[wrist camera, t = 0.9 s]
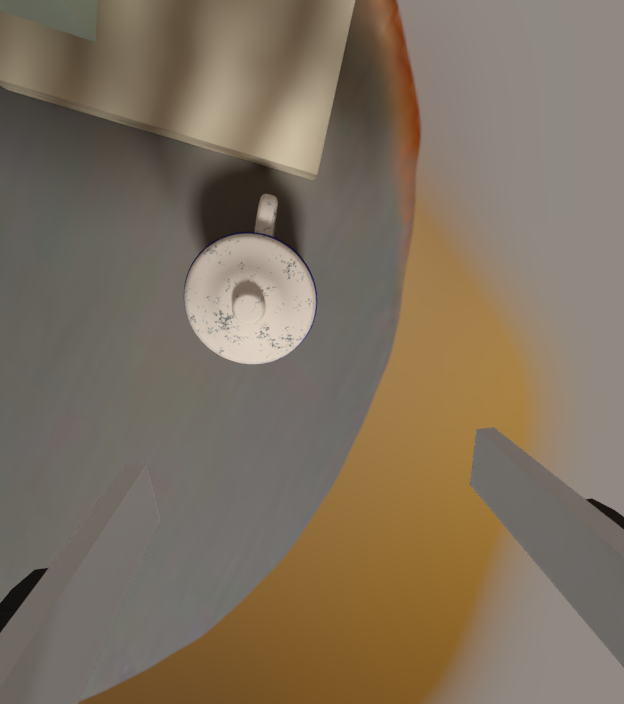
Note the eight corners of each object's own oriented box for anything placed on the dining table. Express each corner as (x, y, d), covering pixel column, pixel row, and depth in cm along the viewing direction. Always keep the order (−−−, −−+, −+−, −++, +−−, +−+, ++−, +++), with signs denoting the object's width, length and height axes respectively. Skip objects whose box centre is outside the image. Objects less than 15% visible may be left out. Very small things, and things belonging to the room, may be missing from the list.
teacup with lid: (297, 343, 32) (308, 389, 20) (204, 328, 30) (162, 368, 19) (321, 218, 28) (349, 191, 17) (219, 194, 27) (178, 149, 16)
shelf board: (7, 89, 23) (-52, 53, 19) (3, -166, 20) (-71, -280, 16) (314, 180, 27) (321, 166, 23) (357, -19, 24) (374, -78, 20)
